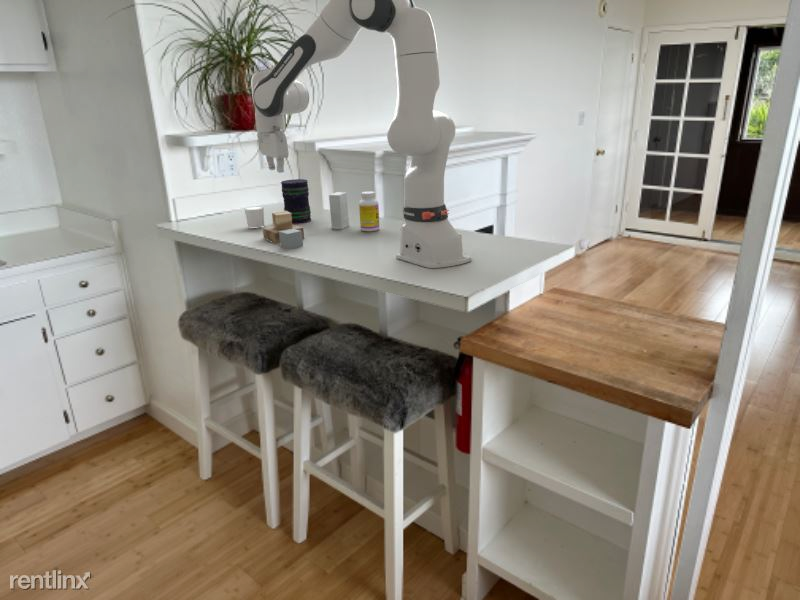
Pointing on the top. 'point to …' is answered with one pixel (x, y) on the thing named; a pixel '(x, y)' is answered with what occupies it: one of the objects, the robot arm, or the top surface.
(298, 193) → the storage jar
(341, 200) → the skincare box
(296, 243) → the grey cube
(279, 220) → the oak cube
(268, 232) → the walnut block
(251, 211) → the shot glass
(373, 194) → the supplement bottle
